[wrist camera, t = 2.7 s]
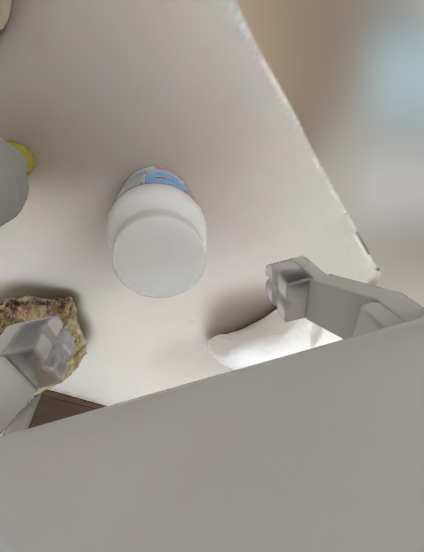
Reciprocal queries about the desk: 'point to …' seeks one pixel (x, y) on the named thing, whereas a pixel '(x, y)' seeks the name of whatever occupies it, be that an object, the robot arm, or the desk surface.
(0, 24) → the white lattice sculpture
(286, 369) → the robot arm
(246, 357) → the fish
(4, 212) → the light bulb
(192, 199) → the pill bottle
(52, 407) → the brown wooden box
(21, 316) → the seashell
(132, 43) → the desk surface
